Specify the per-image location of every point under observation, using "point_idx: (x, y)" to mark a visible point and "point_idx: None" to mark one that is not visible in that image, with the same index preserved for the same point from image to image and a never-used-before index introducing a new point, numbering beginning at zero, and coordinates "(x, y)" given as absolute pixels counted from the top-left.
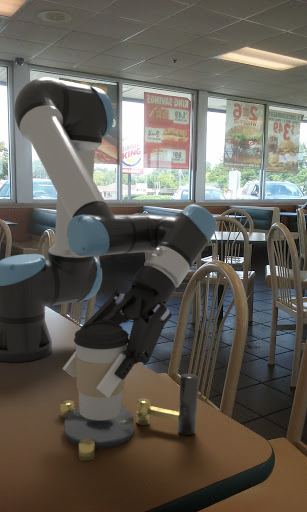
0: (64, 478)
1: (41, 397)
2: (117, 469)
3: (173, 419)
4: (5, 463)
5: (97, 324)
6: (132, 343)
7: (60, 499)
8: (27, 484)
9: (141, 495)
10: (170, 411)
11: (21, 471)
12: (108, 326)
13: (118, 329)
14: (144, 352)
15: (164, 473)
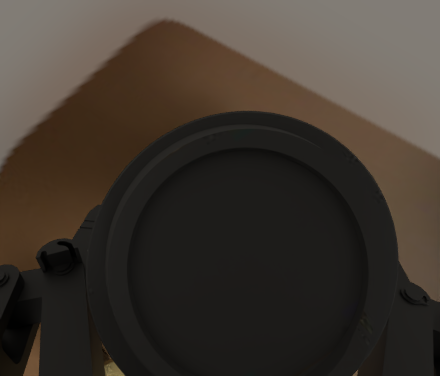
0: (153, 101)
1: (424, 234)
2: (110, 176)
3: (108, 360)
4: (250, 59)
5: (348, 308)
6: (50, 314)
7: (119, 70)
8: (181, 56)
9: (37, 157)
10: (118, 371)
11: (214, 66)
12: (265, 337)
13: (170, 345)
14: (24, 342)
15: (44, 225)
